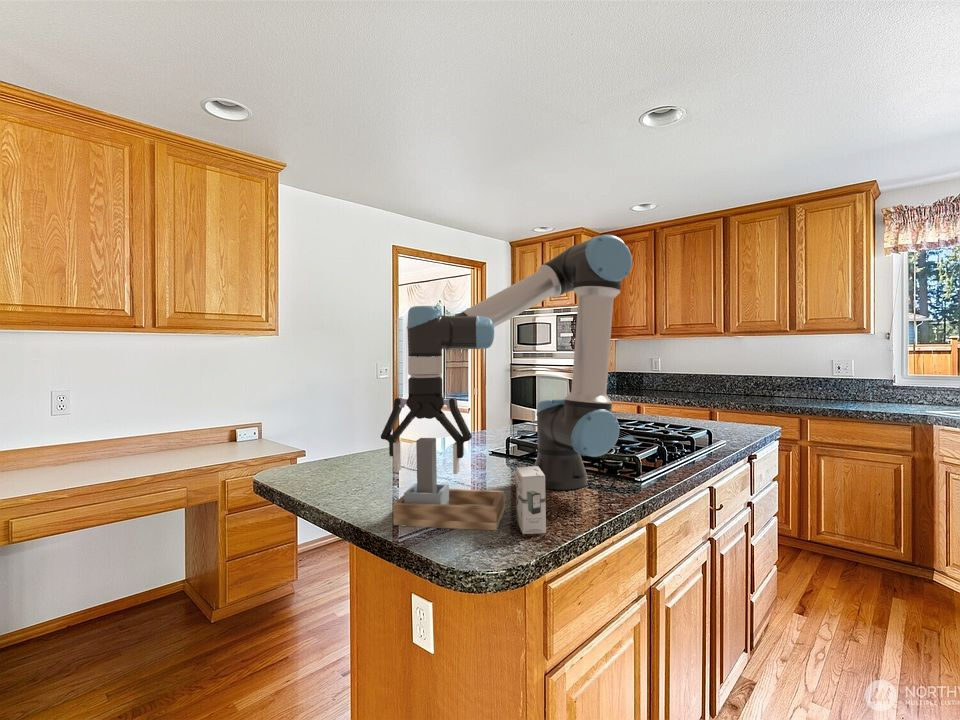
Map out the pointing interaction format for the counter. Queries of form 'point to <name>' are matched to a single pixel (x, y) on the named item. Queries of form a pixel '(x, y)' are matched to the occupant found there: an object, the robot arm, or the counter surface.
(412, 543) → the counter surface
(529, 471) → the ink box
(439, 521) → the bay
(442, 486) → the grey square-based post
